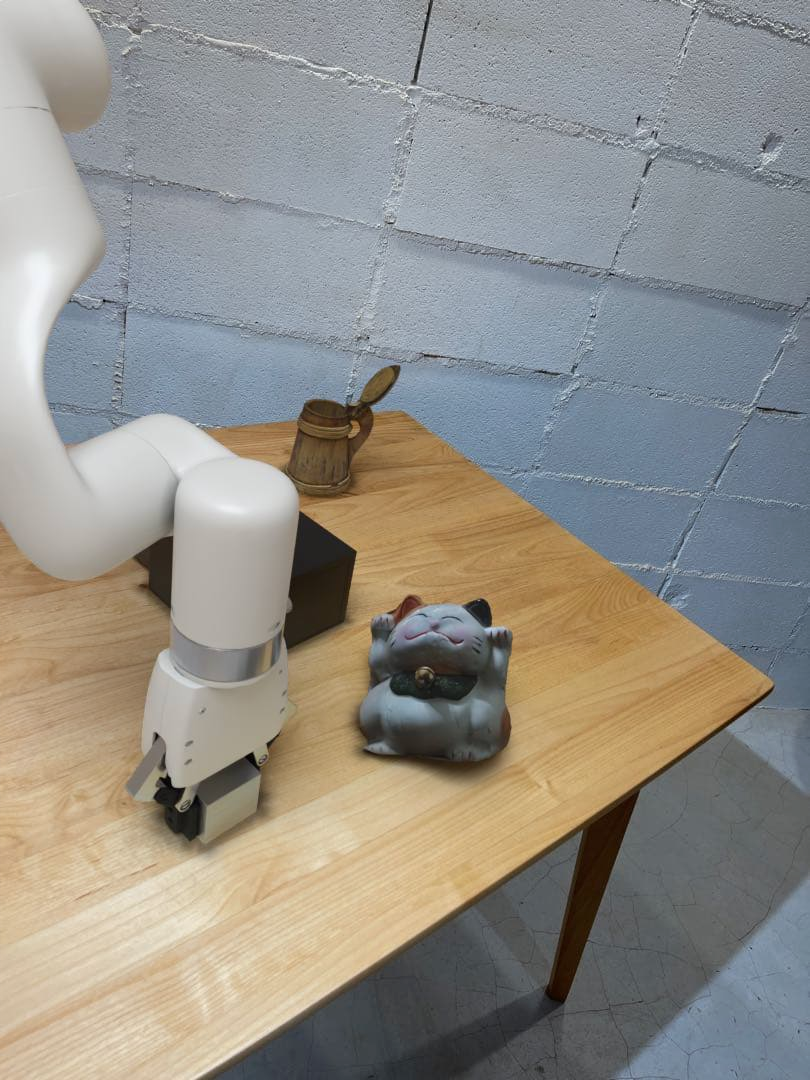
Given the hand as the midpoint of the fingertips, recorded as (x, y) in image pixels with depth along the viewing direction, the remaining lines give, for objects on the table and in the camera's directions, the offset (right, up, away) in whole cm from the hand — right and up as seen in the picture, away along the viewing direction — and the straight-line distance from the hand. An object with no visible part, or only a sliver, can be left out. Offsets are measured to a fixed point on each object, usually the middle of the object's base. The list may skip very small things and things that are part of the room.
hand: (212, 807), depth 65 cm
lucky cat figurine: (+17, +4, +13) cm, 21 cm away
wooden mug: (+5, +29, +49) cm, 57 cm away
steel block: (0, 0, 0) cm, 0 cm away
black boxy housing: (-2, +14, +22) cm, 26 cm away
